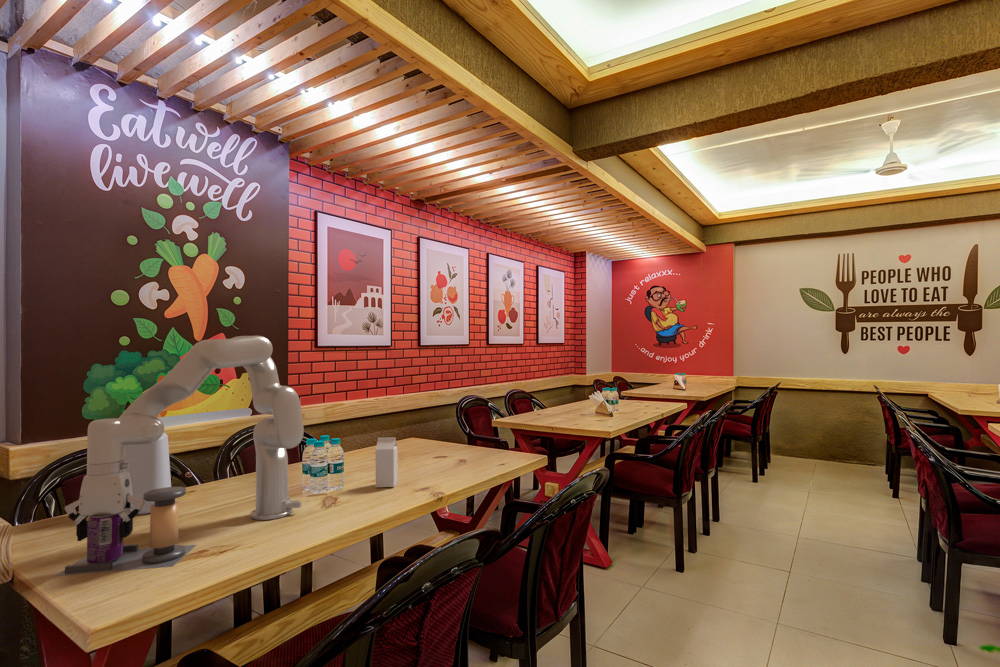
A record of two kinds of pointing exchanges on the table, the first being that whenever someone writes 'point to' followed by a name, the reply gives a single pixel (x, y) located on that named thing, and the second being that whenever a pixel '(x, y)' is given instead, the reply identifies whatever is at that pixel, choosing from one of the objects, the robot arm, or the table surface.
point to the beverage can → (104, 538)
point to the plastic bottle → (148, 469)
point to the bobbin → (164, 525)
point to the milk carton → (386, 462)
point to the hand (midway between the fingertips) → (104, 537)
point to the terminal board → (120, 562)
